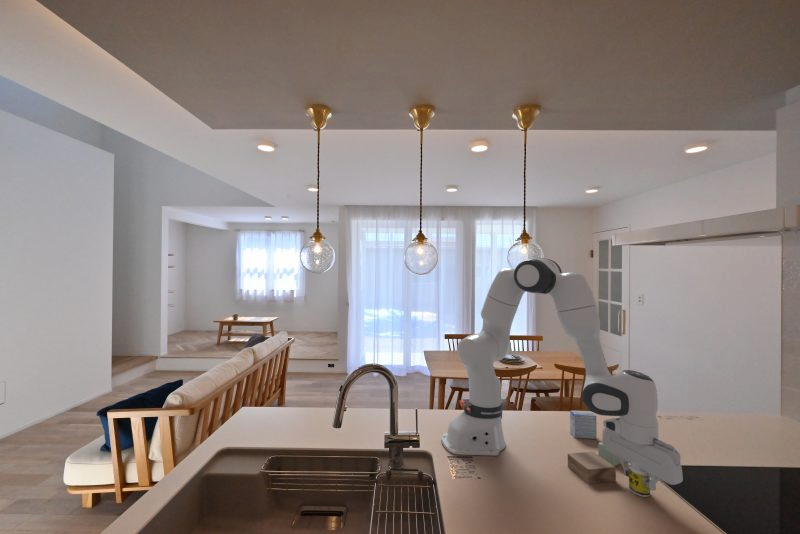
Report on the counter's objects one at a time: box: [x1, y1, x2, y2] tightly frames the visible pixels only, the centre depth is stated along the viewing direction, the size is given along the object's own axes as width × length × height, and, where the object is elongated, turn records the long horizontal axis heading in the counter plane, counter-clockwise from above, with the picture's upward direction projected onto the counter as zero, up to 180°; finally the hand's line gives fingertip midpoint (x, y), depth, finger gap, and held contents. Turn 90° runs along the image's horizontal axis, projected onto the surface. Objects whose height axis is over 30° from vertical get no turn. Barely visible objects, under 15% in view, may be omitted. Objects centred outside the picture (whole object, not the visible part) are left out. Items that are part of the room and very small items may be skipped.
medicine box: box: [569, 410, 598, 440], centre depth 127 cm, size 8×4×9 cm, turn 84°
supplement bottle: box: [628, 461, 651, 498], centre depth 94 cm, size 5×5×8 cm
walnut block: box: [567, 451, 617, 485], centre depth 102 cm, size 9×9×4 cm
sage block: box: [597, 441, 622, 467], centre depth 110 cm, size 5×5×5 cm
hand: (639, 482), depth 93 cm, fingers closed on supplement bottle, 5 cm apart
